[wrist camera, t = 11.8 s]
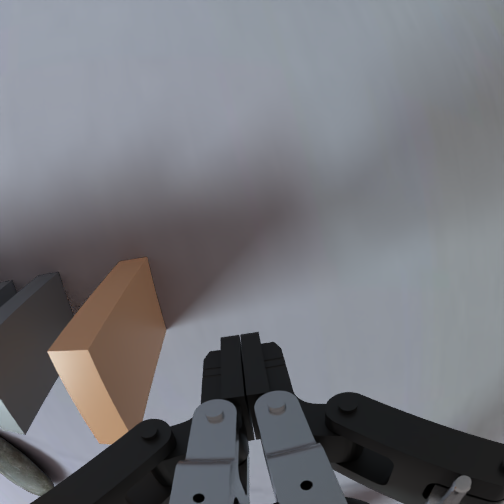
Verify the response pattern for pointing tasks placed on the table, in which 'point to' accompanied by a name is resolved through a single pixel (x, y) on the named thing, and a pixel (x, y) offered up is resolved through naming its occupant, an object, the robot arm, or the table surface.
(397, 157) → the table surface
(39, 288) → the domino
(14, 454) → the stone
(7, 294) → the domino
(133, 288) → the domino
